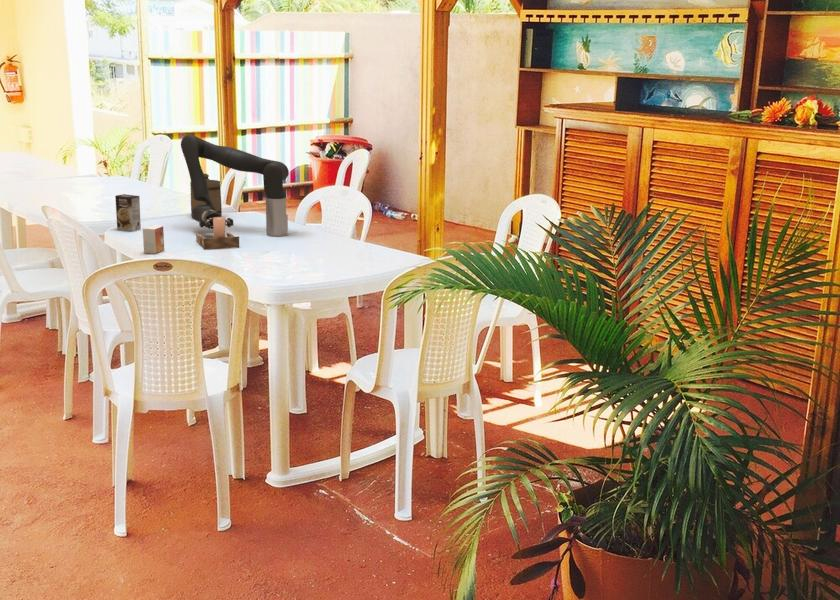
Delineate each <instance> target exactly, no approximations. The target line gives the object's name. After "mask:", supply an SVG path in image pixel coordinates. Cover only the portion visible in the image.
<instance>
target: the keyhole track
mask: <svg viewBox="0 0 840 600" xmlns="http://www.w3.org/2000/svg"><path fill="white" fill-rule="evenodd" d="M195 237H196V238H195V239H196V243H197V244H199V246H200V247H201V248H202V249H203V250H206V251H207V250H218V249H232V248H231V247H237V248H240V237H239V236H235V235H234V234H232V233H231V232H226V237H221V238H214V237H203V236H202V235H201V234H200V233H199V234H198V233H196V234H195Z"/></svg>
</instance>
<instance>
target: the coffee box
mask: <svg viewBox="0 0 840 600" xmlns="http://www.w3.org/2000/svg"><path fill="white" fill-rule="evenodd" d="M140 199H141V198H140V195H133V194H132V195H131V194H125V193H123V194H118V195H115V215H116V230H117V231H121V230H123V231H122V232H129V231H134V232H138V231H141V230H142V229H141V205H140V204H141V201H140ZM140 229H141V230H140ZM137 230H138V231H137Z"/></svg>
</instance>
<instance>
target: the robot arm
mask: <svg viewBox="0 0 840 600" xmlns="http://www.w3.org/2000/svg"><path fill="white" fill-rule="evenodd" d="M180 148H181V151H182V152H181V153H182V154H183V157H184V160H185V164H186V167H187V170H188V174H189V178H190V179H189V180H190V182H191V184H192V190H193V196H194V199H195V200H197V201H203V202H205V203H206V205H200V206H195V207H194V208H193V210H192V215H193V218H194V219H193V218H192V219H193V220H195V221H196V222H198V225H199V227H200V228H206V229H212V230H214V229H213V218H214V217H221V216H220V214H218V213H217V212H216V210H215V207H214V205H213V204H212V201H211V199H210V196H209V192H208V186H207V181H206V178H205V176H204V174H205V173H204V171H203V169H202V166H201V162H200V158H202V159H205V160H206V159H207V160H210V161H213V162H215V163H217V164H219V165H221V166H223V167H226V168H228V169H232V170H235V171H239V172H245V173H256V174H260V175H262V176H263V191H264V194H265V218H266V220H265V224H266V225H265V226H266V227H265V231H266V235H267V236H270V237H283V236H288V235H289V225H288V224H289V221H288V220H289V215H288V213H287V192H286V191H285V190H284V183H283V182H284V181H285V180H286V179H287V178H288V176H289V173H290V172H289V168H288V166H287V165H286V164H285V163H283V162H281V161H278V160H273V159H272V160H271V159H267V158H262V157H259V156H257V155H254V154H252V153H249V152H246V151H244V150H242V149H238V148H234V147H231V146H224V145H217V144H214V143H212V142H209V141H206V140H205V139H202V138H201V137H198V136H196V135H194V134H186V135H185V136H183V138H182V139H181V141H180ZM233 226H234V219H232V218H231V217H227V218H225V227H227V228H231V227H233Z"/></svg>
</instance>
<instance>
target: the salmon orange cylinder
mask: <svg viewBox="0 0 840 600" xmlns="http://www.w3.org/2000/svg"><path fill="white" fill-rule="evenodd" d="M225 219H226V217H224V216H222V217H214V218H213V229H212V230H213V238H221V237H227V234H226V226H225Z"/></svg>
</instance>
